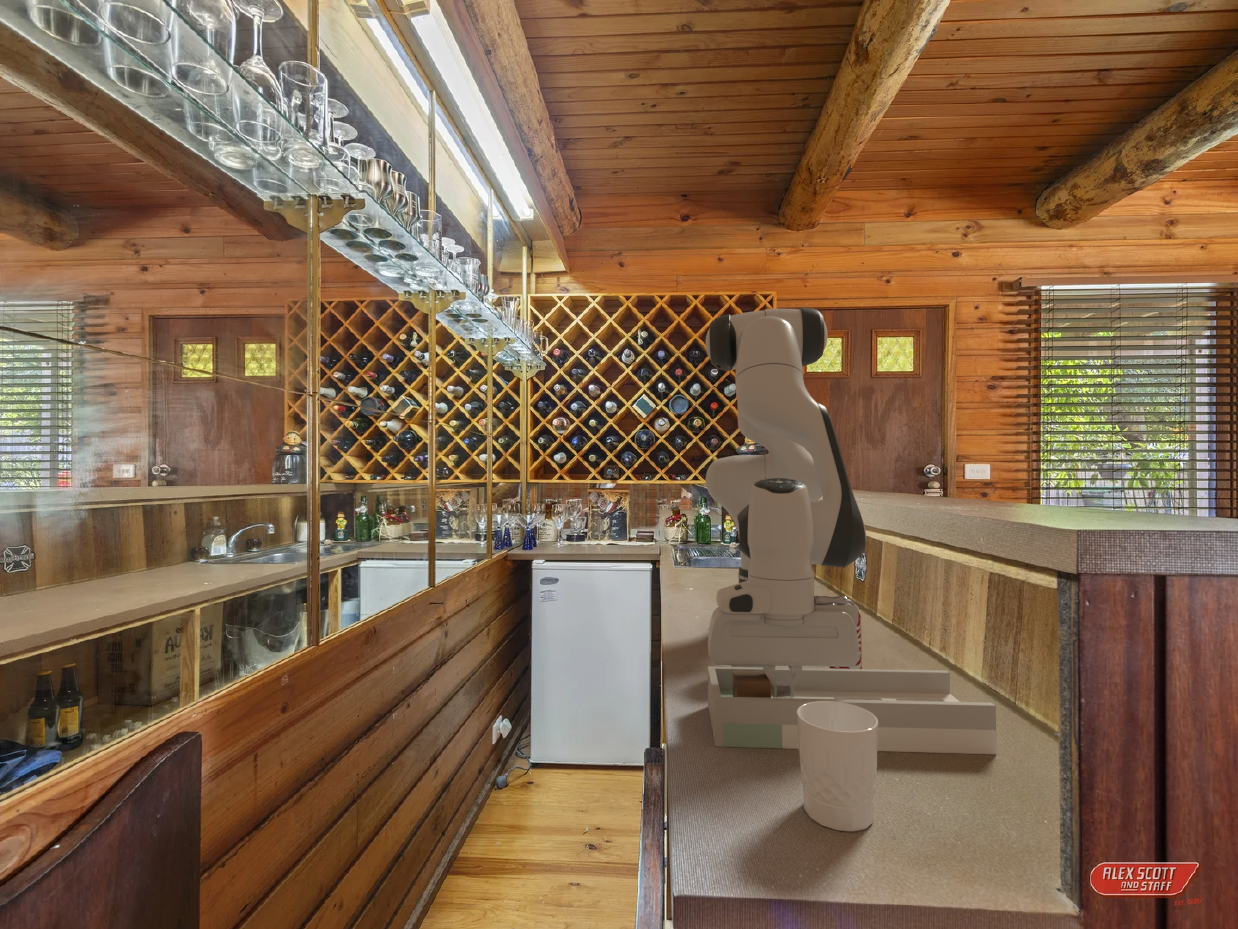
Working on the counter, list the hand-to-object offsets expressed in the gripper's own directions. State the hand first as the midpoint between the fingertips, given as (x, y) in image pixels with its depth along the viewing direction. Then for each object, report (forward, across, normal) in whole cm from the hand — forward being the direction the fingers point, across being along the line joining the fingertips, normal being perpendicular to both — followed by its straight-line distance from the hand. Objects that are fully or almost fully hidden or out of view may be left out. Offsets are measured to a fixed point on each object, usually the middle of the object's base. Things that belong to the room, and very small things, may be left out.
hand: (782, 696), depth 81 cm
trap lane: (+4, -7, 0) cm, 8 cm away
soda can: (+4, -15, -22) cm, 27 cm away
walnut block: (+1, +4, 0) cm, 4 cm away
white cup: (+4, -2, +20) cm, 21 cm away
